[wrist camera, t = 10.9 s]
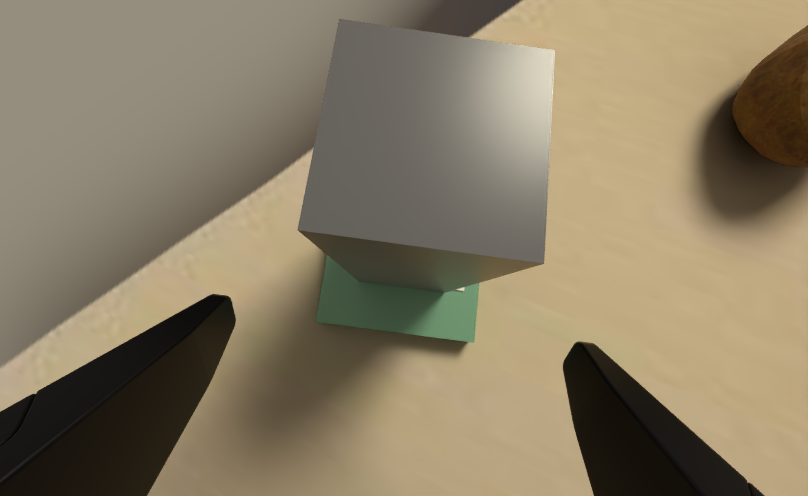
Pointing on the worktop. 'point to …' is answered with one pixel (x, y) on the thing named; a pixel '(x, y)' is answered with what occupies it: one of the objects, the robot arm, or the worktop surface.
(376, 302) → the header board
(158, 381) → the robot arm
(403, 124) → the grey rectangular block
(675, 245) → the worktop surface
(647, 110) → the worktop surface
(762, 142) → the potato
